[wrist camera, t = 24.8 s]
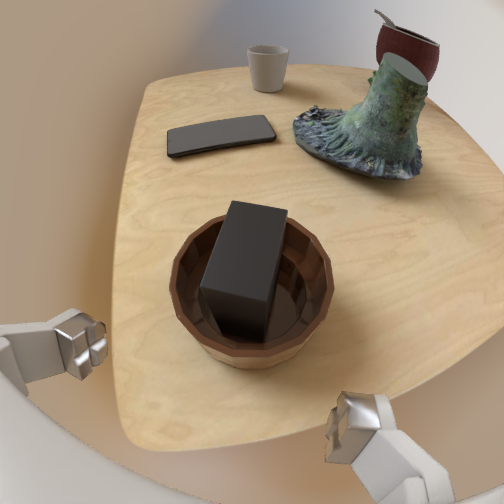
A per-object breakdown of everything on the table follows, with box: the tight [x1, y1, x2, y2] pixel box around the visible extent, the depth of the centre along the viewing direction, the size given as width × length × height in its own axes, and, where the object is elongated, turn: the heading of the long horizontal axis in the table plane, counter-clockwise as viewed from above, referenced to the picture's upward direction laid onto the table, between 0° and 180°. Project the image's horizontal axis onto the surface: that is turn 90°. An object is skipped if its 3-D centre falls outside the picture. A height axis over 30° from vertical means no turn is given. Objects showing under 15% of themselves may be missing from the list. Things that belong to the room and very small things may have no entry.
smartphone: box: [167, 115, 276, 158], centre depth 36 cm, size 7×1×15 cm
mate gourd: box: [375, 9, 440, 83], centre depth 39 cm, size 16×14×20 cm
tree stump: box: [293, 52, 428, 180], centre depth 30 cm, size 18×20×18 cm
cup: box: [247, 45, 289, 92], centre depth 43 cm, size 8×10×8 cm
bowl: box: [169, 215, 334, 369], centre depth 21 cm, size 11×11×6 cm
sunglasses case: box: [200, 201, 288, 342], centre depth 19 cm, size 4×6×9 cm, turn 166°
